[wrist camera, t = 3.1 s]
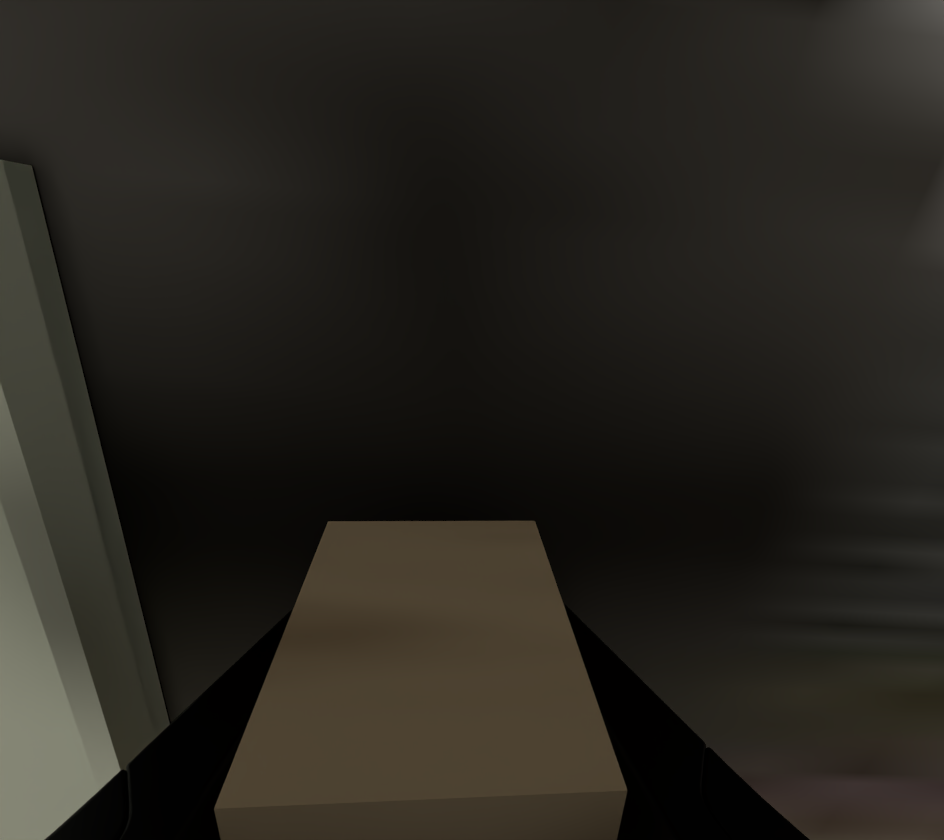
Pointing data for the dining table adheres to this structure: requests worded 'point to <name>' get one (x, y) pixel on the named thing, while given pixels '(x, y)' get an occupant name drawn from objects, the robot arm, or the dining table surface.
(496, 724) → the wooden block frame
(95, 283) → the dining table surface
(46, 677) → the tray
